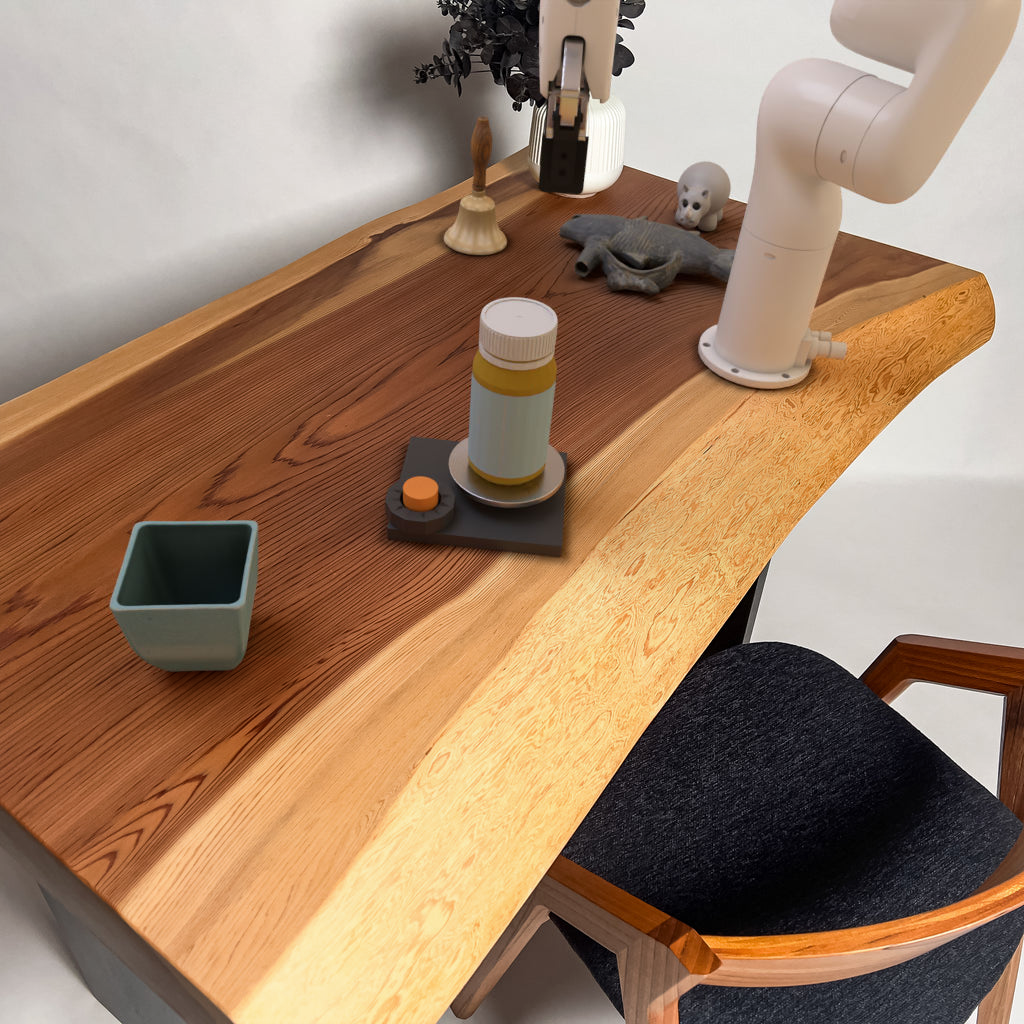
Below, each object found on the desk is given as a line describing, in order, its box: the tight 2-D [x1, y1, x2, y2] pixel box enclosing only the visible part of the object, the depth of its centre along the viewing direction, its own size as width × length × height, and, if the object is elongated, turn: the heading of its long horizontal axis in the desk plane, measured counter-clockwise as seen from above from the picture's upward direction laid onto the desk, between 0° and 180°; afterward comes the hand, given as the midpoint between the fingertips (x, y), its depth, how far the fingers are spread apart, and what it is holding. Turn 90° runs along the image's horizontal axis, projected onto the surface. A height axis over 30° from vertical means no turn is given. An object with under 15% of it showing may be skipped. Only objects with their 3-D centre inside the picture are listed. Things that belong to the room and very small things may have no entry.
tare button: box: [403, 476, 438, 512], centre depth 82 cm, size 3×3×2 cm
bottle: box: [468, 296, 559, 486], centre depth 81 cm, size 7×7×15 cm
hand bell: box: [443, 115, 508, 256], centre depth 120 cm, size 8×8×16 cm
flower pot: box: [109, 519, 259, 673], centre depth 70 cm, size 9×9×9 cm
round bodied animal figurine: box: [674, 160, 732, 232], centre depth 130 cm, size 7×12×8 cm, turn 155°
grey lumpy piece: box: [558, 213, 736, 296], centre depth 121 cm, size 5×25×15 cm
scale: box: [384, 436, 568, 558], centre depth 86 cm, size 16×13×3 cm
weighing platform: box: [448, 436, 565, 508], centre depth 86 cm, size 10×10×1 cm
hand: (562, 163), depth 73 cm, fingers open, 9 cm apart
